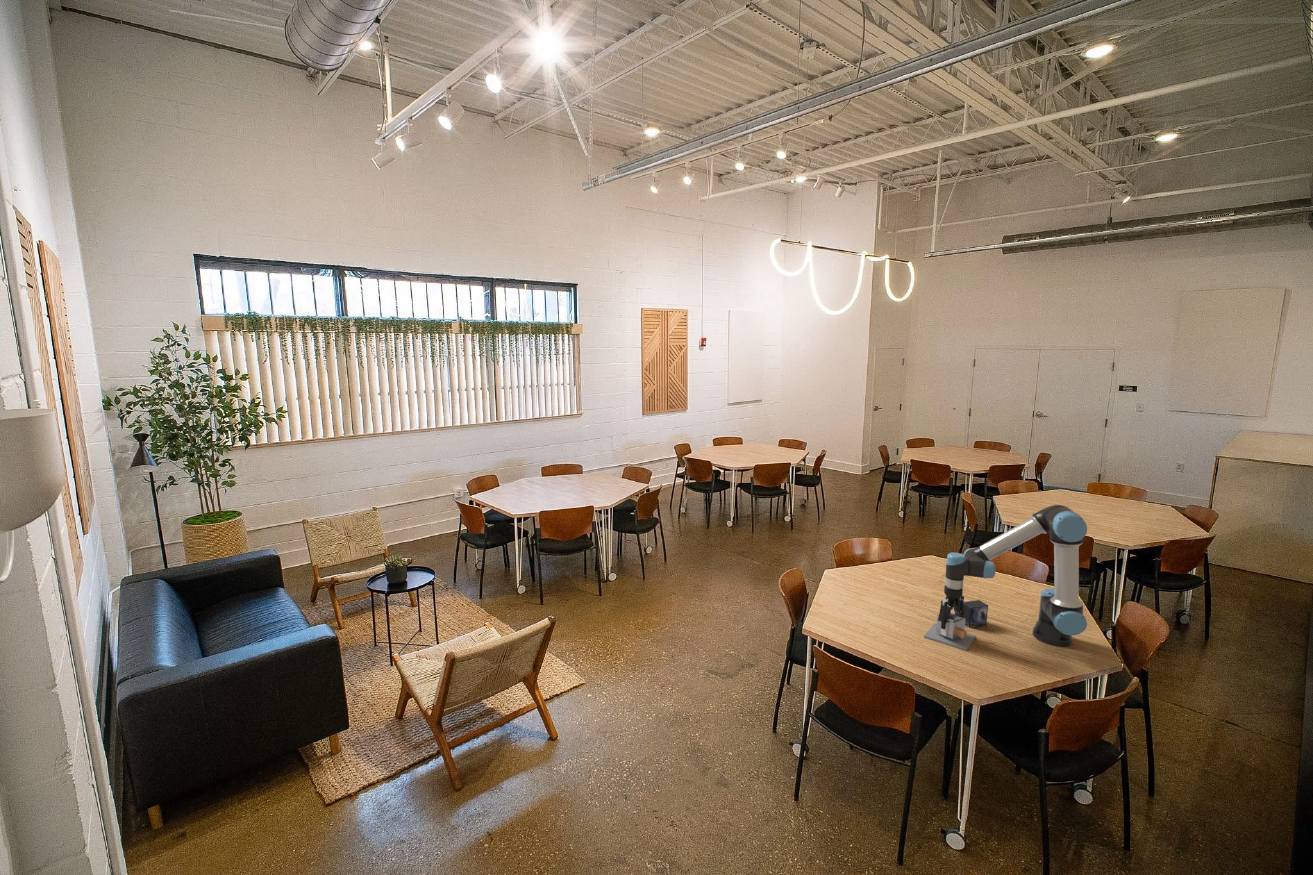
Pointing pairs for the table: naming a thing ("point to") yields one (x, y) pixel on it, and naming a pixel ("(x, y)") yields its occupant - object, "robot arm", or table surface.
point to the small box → (975, 613)
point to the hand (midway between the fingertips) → (950, 632)
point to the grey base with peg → (957, 642)
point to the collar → (953, 626)
